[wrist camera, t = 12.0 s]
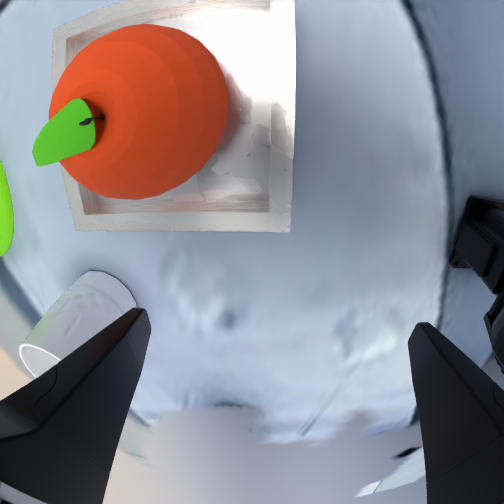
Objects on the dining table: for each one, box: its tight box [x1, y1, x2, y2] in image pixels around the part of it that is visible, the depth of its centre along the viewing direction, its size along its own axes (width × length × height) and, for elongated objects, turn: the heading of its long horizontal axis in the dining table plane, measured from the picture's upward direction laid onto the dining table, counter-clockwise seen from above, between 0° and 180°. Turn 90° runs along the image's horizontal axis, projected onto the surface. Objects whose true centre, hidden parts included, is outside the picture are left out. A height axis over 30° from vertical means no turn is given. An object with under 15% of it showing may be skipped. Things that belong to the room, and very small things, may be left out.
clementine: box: [32, 23, 229, 200], centre depth 9 cm, size 8×7×7 cm
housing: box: [52, 0, 295, 232], centre depth 13 cm, size 12×12×6 cm
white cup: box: [19, 271, 136, 378], centre depth 20 cm, size 8×8×10 cm
